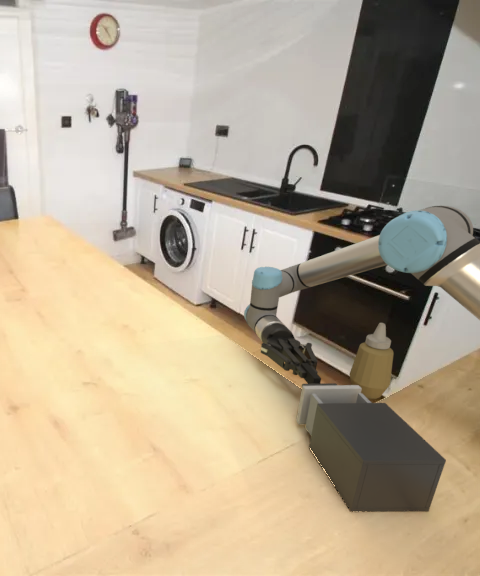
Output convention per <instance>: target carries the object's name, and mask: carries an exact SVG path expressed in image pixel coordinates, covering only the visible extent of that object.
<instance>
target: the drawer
mask: <svg viewBox="0 0 480 576" xmlns="http://www.w3.org/2000/svg"><path fill="white" fill-rule="evenodd" d="M361 390H362V388H361V387H360V386H359V385H351V384H347V385H344V384H343V385H342V384H340V385H339V384H337V383H334V382H331V383H330V382H328V383H327V382H326V383H325V382H324V383H321V382H320V384H308V383H302V384H301V392H300V397H299V403H298V409H297V415H296V420H295V421H296V423H297V425H301V426H303V425H304V426H305V427H304V428H305V430H306V431H307V432H308V434H309V435H310V436H311V434H312V429H313V424H314V419H315V413H316V408H317V404H318V403H372V401H370V400H369V398H366V397H365V396H364V395H363V394H362V393H361Z"/></svg>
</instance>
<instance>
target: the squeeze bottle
mask: <svg viewBox="0 0 480 576" xmlns="http://www.w3.org/2000/svg"><path fill="white" fill-rule="evenodd" d="M386 329H387V327H386V323H384V322H379V323H378V325H377V327H376V328H375V330H374V332H373V333H369V334H367V335H366V337H365V341H364V342H361V343H360V344H359V347H358V349H357V352H356V354H355V357H354V360H353V363H352V366H351V368H350V371H349V379H350V380H349V381H350V385H359V386H360V387H361V388H362V390H361V393H362V394H363V395H364V396H365V397H366V398H367V399H371V400H374V399H375V400H377V399H379V398H381V397H382V395H383V394H384V393H385V392H386V390H387V389H388V388H389V387H390V385H391V378H392V370H393V361H394V355H395V353H394V350H393V348H391V344H392V340H391V339H390V338H389V337H388V336H387V330H386Z"/></svg>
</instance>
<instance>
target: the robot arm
mask: <svg viewBox="0 0 480 576" xmlns="http://www.w3.org/2000/svg"><path fill="white" fill-rule="evenodd" d="M379 233H380V234H378V235H376V236H373V237H370V238H367V239H364V240H362V241H359V242H356V243H353V244H351V245H348V246H344V247H342V248H340V249H336V250H333V251H331V252H328V253H325V254H322V255H321V256H317V257H314V258H311V259H309V260H306V261H302V262H301V263H297V264H293V265H291V266H289V267H286V268H282V269H279V268H277V267H273V266H260V267H257V268H256V269H254V271H253V275H252V280H251V291H250V299H249V304H247V306H246V307H245V309H244V311H243V317H244V320H245V321H246V324H247V325H248V327H250V329H251V330H252V331H253V332H254V333H255V335H256V336H257V337H258V338H259V340H260V341H261V342H262V343H261V346H260V347H261V348H260V354H262V355H264V356H266V357H267V358H269V359H270V360H271V361H273V362H274V363H275V364H277V365H278V366H279V367H280V368H281V369H282V370H284V371H285V372H289V371H290V370H291V371H292V375H294V376H298V377H300V378H301V379H303V380H304V381H305V382H306V384H320V383H321V381H322V378H321V376H320V375H319V372H318V371H317V367H318V358H317V356H316V355H315V353H314V350H313V349H312V348H313V347H312V346H313V344H312V343H311V342H306V344H305V343H304V344H303V343H301V342H300V341H299V340H298V339H296V338H295V336H294V333H293V332H292V331H291V330H290V329H289V327H288V326H286V325H285V324H284V323H283V321H282V320H280V318H278V316H277V313H278V307H279V300H280V298H281V297H284V296H287V295H289V294H290V295H291V294H292V293H293V294H294V293H295V292H298V291H302V290H306V289H309V288H311V287H316V286H318V285H323V284H325V283H329V282H332V281H336V280H339V279H342V278H347V277H350V276H353V275H357V274H360V273H364V272H367V271H370V270H373V269H378V268H381V267H385V266H387V267H390V268H392V269H393V270H395V271H398V272H402V273H406V274H411V275H412V276H413V277H415V278H416V279H417V280H418V281H419V282H421V283H422V284H423V285H424V286H426V287H427V286H428V287H438V288H441V289H442V290H443V291H444V292H445V293H446V294H448V295H449V297H451V298H453V300H455V301H456V302H457V303H458V304H460V305H461V306H462V307H463V308H464V309H466V311H468V312H469V313H470V314H471V315H473V316H474V317H475V318H476V319H477V320H478V321H480V240H479V239H477V238H476V237H475V236H474V235H473V234H474V227H473V222H472V220H471V219H470V217H469V216H468V215H467V214H466V213H465V212H463V211H462V210H461V209H459V208H457V207H454V206H449V205H441V204H440V205H431V206H428V207H425V208H421V209H418V210H410V211H407V212H404V213H402V214H399V215H398V216H396V217H394V218H393V219H391V220H390V221H388V222H387V224H386V225H384V227H383V228H382V230H381V231H380V232H379Z"/></svg>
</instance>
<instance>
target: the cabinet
mask: <svg viewBox="0 0 480 576" xmlns="http://www.w3.org/2000/svg"><path fill="white" fill-rule="evenodd" d="M309 447H310V448H311V450H312V451H313V453H314V454H315V456H316V457H317V459H318V461H319V462H320V464H321V465H322V467H323V468H324V469H325V471H326V473H327V474H328V476H329V477H330V479H331V481H332V482H333V484H334V485H335V487H336V489H337V490H338V492H339V493H338V492H337V493H338V495H339V494H340V495H339V496H340V497H342V498H343V499H342V498H341V499H342V501H343V500H344V501H345V502H344V501H343V502H344V504H345V503H346V504H345V506H346V507H347V506H348V507H349V508H348V507H347V508H348V510H349V509H350V510H349V511H350V512H351V511H358V512H357V513H359V511H362V512H363V513H365V511H367V512H368V513H369V512H370V511H371V512H374V513H376V512H378V513H380V512H382V513H385V512H389V513H391V512H392V513H393V512H398V513H399V512H400V513H402V512H403V513H405V512H430V509H431V506H432V504H433V500H434V497H435V494H436V491H437V488H438V485H439V482H440V480H441V477H442V473H443V471H444V467H445V464H446V462H447V459H446V458H445V457H444V456H443V455H442V454H440V453H439V452H438V451H437V450H436V449H435V448H434V447H433V446H432V445H431V444H430V443H428V441H426V440H425V438H424V437H422V436H421V435H420V434H419V433H418V432H417V431H416V430H415V429H414V428H413V427H411V426H410V424H408V423H407V422H406V421H405V420H404V419H403V417H401V416H400V415H399V414H398V413H397V412H395V411H394V410H393V409H392V408H391V406H389V405H388V404H387V403H386V402H371V403H318V404H317V408H316V413H315V419H314V424H313V429H312V434H311V435H310V440H309V445H308V448H309ZM331 481H330V482H331ZM333 484H332V485H333ZM335 487H334V488H335ZM336 489H335V490H336ZM337 490H336V491H337ZM362 512H361V513H362ZM367 512H366V513H367ZM371 512H370V513H371Z"/></svg>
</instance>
